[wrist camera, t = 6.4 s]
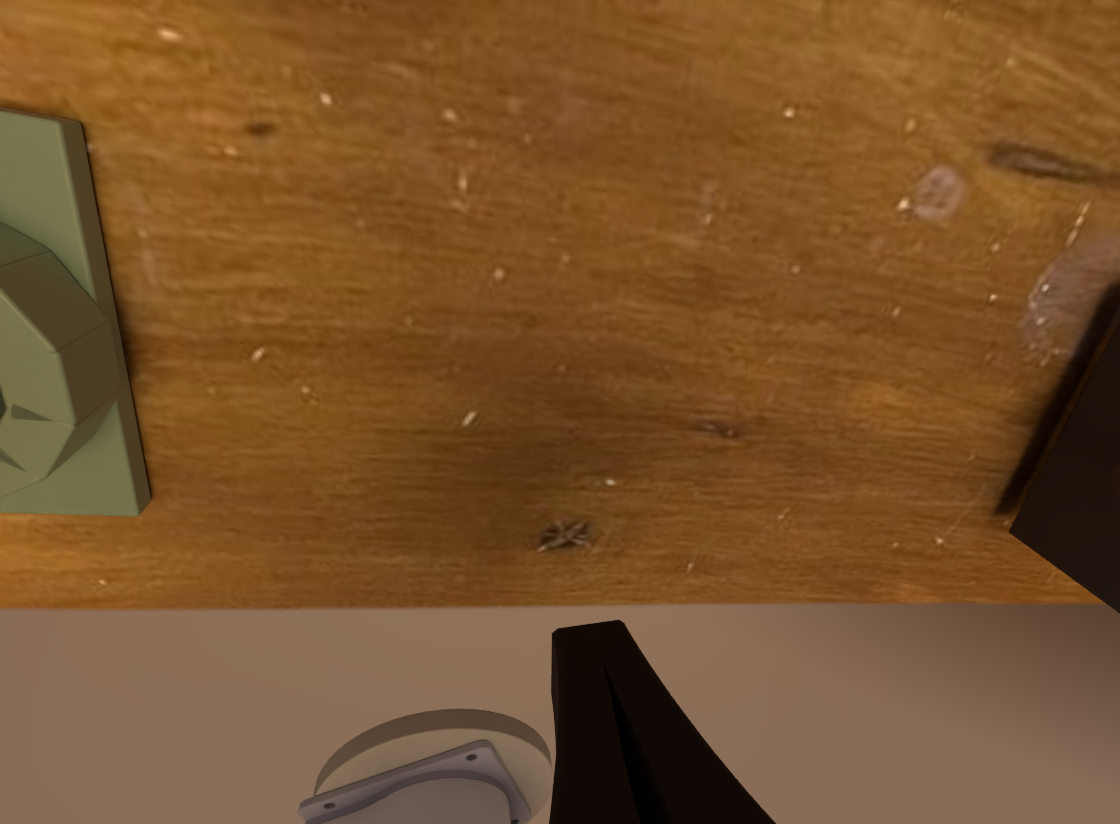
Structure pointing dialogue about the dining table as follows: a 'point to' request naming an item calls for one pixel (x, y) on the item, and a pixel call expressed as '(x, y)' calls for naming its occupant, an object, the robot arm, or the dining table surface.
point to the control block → (60, 335)
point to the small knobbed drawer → (1082, 489)
